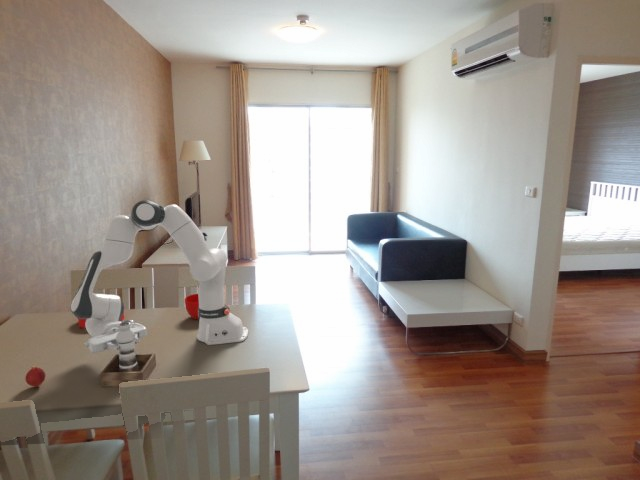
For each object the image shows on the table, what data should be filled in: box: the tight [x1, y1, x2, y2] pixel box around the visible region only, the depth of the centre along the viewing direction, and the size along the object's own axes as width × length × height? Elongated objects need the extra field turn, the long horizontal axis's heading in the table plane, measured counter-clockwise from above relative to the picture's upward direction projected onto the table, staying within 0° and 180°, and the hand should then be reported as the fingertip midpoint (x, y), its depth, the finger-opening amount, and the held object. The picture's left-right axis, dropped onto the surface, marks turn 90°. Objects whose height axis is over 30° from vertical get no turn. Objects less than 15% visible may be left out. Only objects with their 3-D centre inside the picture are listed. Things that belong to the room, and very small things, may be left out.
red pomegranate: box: [24, 365, 46, 388], centre depth 149 cm, size 6×6×8 cm
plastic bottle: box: [116, 322, 138, 372], centre depth 155 cm, size 6×7×20 cm
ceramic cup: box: [184, 293, 199, 320], centre depth 213 cm, size 13×17×10 cm
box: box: [99, 352, 157, 387], centre depth 157 cm, size 15×15×5 cm
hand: (127, 344), depth 154 cm, fingers closed on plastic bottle, 6 cm apart
